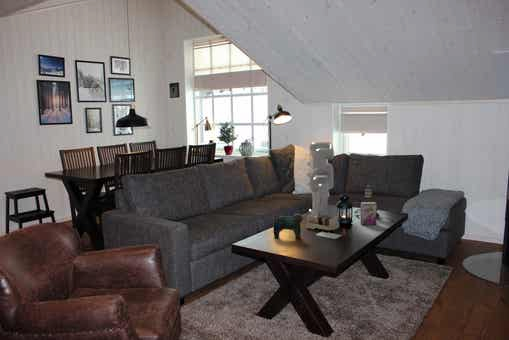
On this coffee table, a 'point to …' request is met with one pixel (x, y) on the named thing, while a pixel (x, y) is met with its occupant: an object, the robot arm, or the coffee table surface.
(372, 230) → the coffee table surface
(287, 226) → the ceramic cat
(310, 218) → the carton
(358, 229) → the coffee table surface
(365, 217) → the candy bar box
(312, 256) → the coffee table surface
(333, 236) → the felt pad
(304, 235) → the coffee table surface
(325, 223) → the block
